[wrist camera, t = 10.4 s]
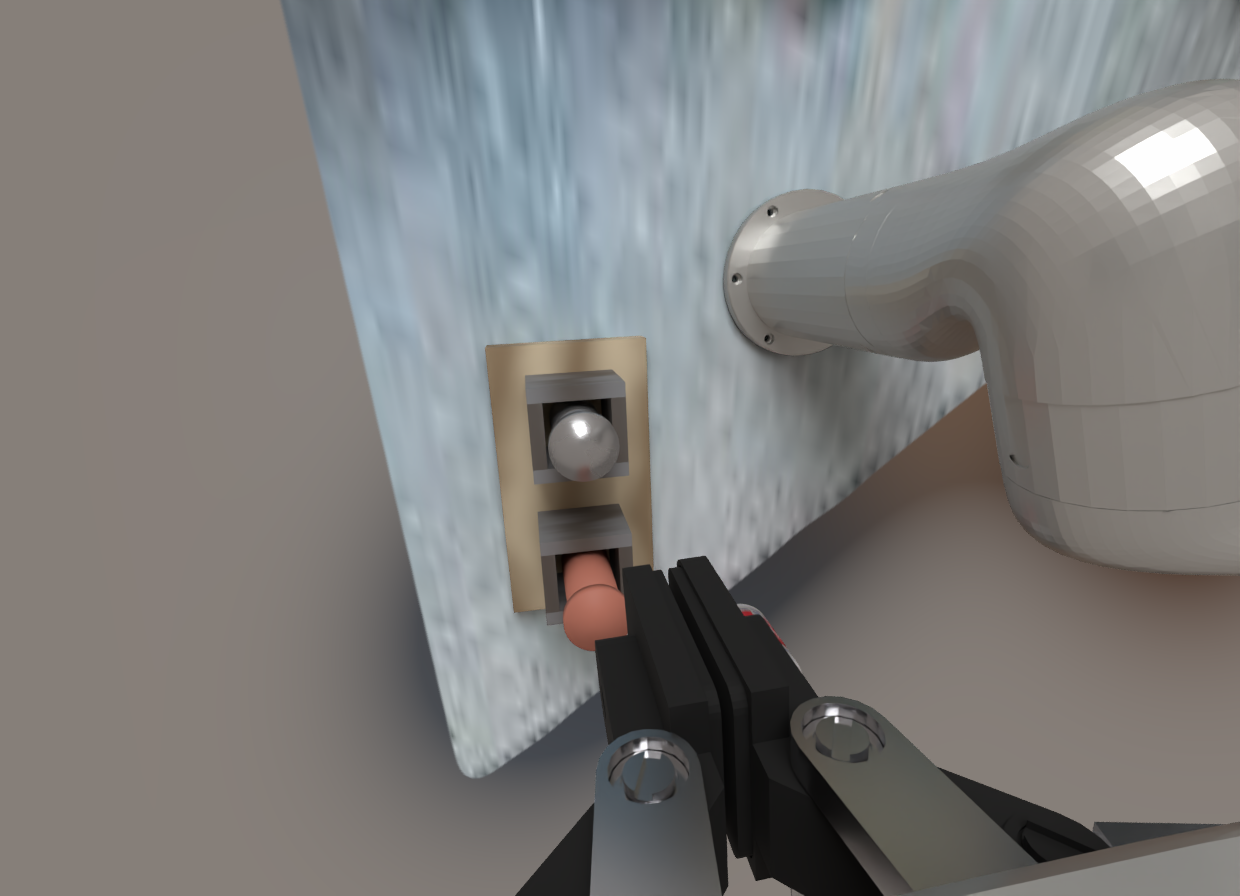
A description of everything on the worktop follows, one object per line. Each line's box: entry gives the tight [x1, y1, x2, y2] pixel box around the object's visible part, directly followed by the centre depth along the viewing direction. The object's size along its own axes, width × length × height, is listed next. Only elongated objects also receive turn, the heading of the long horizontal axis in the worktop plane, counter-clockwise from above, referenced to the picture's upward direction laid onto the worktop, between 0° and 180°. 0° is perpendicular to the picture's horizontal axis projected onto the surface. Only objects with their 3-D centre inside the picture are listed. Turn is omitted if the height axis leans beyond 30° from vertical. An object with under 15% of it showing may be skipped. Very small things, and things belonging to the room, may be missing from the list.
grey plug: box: [548, 400, 620, 482], centre depth 40 cm, size 4×4×9 cm
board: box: [485, 336, 653, 625], centre depth 45 cm, size 12×22×8 cm, turn 3°
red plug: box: [561, 549, 628, 651], centre depth 42 cm, size 4×4×9 cm
